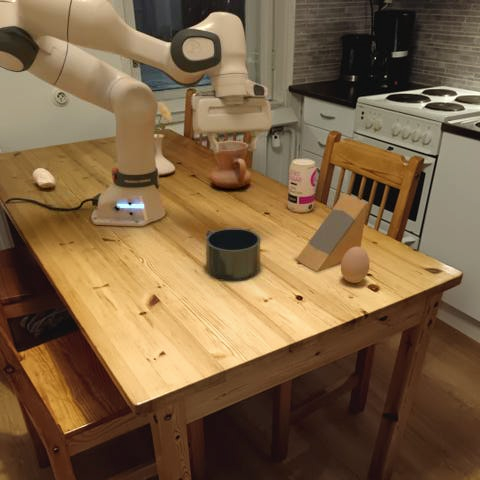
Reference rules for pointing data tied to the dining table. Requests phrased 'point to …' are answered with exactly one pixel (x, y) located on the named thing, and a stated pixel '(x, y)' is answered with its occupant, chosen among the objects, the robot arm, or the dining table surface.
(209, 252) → the coffee mug
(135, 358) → the dining table surface
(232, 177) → the ceramic jug
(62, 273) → the dining table surface
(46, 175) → the roll
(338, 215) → the sandwich container
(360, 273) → the egg
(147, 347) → the dining table surface
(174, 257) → the dining table surface
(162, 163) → the flower in vase
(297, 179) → the supplement can
